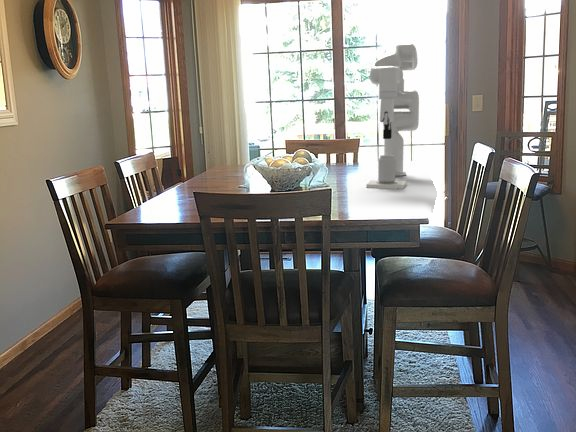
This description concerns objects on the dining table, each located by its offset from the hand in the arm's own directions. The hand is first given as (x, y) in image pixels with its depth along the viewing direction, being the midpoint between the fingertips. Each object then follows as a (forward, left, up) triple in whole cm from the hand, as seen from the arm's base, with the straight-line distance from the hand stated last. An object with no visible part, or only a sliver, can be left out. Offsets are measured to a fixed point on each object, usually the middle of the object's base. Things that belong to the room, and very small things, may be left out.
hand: (387, 138), depth 268 cm
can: (0, 0, -20) cm, 20 cm away
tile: (0, 0, -21) cm, 21 cm away
